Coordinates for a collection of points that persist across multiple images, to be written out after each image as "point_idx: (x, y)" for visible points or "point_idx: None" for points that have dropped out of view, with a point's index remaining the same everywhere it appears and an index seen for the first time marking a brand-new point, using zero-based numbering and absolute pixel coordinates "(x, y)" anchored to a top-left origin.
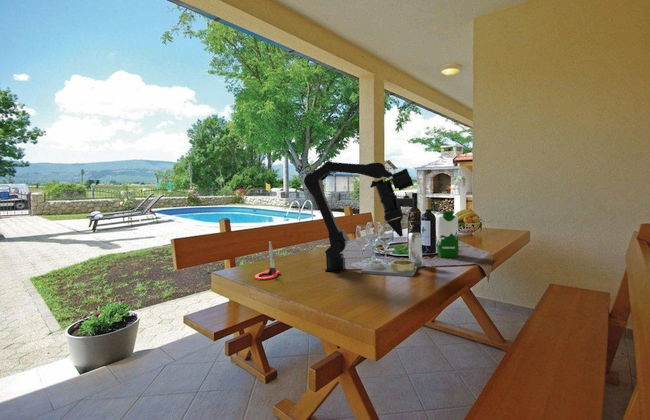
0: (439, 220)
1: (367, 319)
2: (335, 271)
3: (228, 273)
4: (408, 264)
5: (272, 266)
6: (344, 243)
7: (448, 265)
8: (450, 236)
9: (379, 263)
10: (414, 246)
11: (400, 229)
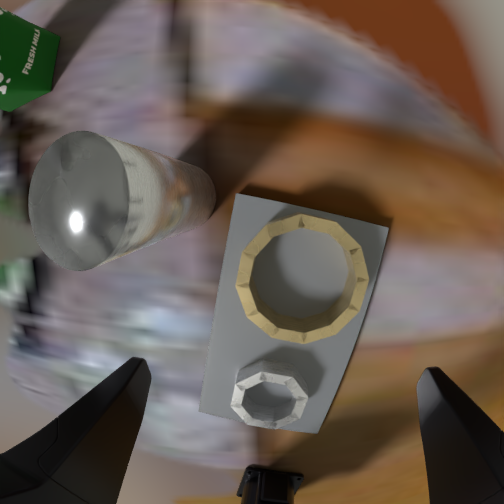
0: None
1: None
2: (299, 484)
3: None
4: (350, 251)
5: None
6: None
7: (172, 50)
8: (2, 26)
9: (291, 389)
10: (176, 205)
11: (481, 424)
